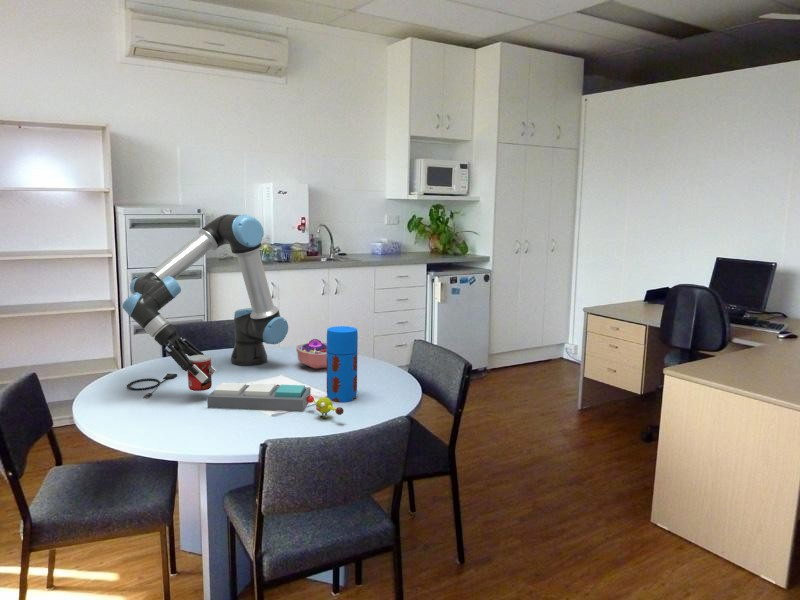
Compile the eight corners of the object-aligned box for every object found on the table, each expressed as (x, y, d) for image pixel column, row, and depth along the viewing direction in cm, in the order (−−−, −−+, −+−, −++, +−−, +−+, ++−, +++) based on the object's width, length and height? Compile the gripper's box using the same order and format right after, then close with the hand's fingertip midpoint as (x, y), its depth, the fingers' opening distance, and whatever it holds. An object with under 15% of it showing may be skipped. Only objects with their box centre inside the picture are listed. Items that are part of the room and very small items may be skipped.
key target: (281, 394, 222) (281, 384, 222) (305, 395, 222) (305, 385, 221) (275, 402, 214) (275, 392, 213) (300, 402, 214) (300, 392, 213)
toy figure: (300, 412, 210) (300, 392, 209) (313, 408, 214) (313, 389, 213) (334, 427, 198) (334, 406, 197) (348, 423, 202) (348, 402, 200)
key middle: (251, 393, 223) (251, 383, 222) (275, 394, 222) (275, 384, 222) (244, 400, 214) (244, 390, 214) (269, 401, 214) (269, 391, 214)
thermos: (349, 404, 220) (349, 333, 216) (321, 400, 223) (321, 330, 219) (361, 395, 230) (362, 327, 226) (335, 391, 233) (335, 325, 229)
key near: (222, 392, 223) (222, 382, 223) (246, 392, 223) (245, 383, 222) (214, 399, 215) (213, 389, 214) (238, 400, 215) (238, 390, 214)
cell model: (298, 374, 254) (298, 347, 252) (294, 361, 273) (294, 336, 271) (340, 372, 258) (340, 345, 256) (333, 360, 277) (333, 334, 275)
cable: (109, 398, 221) (109, 394, 221) (144, 376, 249) (143, 372, 249) (148, 399, 221) (147, 395, 221) (178, 377, 249) (178, 373, 249)
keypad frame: (221, 395, 226) (220, 384, 226) (310, 398, 225) (310, 387, 224) (207, 407, 213) (207, 396, 212) (302, 411, 211) (302, 399, 211)
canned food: (205, 392, 218) (204, 361, 216) (184, 390, 219) (182, 359, 217) (215, 385, 225) (214, 355, 223) (194, 383, 226) (193, 354, 224)
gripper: (166, 331, 230) (212, 375, 232) (141, 345, 209) (191, 393, 212) (180, 317, 229) (225, 361, 231) (156, 329, 208) (206, 378, 210)
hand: (209, 376), depth 221 cm, fingers closed on canned food, 8 cm apart
